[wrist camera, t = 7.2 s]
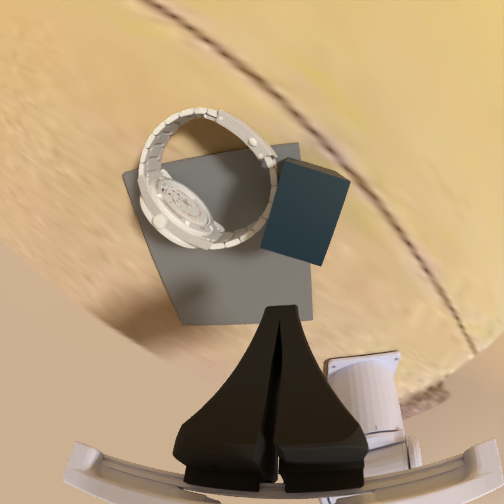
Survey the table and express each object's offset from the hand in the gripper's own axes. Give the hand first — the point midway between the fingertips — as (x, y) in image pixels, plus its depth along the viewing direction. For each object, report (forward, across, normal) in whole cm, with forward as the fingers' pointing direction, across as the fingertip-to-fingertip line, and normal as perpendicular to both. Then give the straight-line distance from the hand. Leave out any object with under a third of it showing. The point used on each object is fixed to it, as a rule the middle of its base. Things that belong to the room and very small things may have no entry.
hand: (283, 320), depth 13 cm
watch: (+6, -3, -2) cm, 7 cm away
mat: (+9, +4, +2) cm, 10 cm away
